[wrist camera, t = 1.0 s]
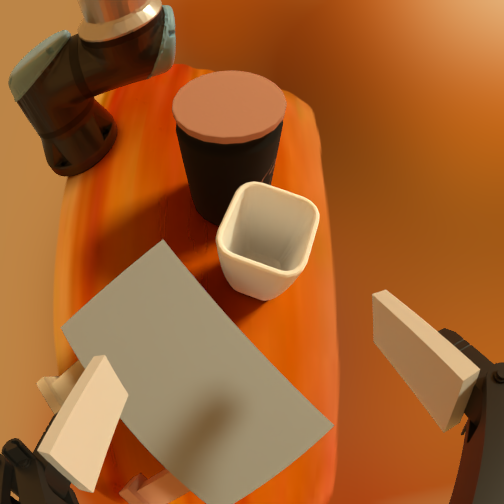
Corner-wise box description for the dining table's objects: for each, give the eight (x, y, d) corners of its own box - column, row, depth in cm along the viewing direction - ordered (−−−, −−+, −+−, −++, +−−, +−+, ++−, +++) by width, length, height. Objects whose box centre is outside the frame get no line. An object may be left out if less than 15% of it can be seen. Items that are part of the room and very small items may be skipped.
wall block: (121, 339, 32) (60, 327, 18) (189, 281, 35) (163, 239, 22) (224, 457, 27) (218, 512, 14) (296, 398, 30) (334, 425, 17)
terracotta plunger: (132, 477, 21) (118, 493, 16) (211, 424, 24) (207, 437, 20) (161, 504, 20) (151, 522, 15) (242, 453, 23) (243, 470, 19)
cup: (240, 241, 37) (242, 175, 23) (292, 260, 37) (324, 203, 23) (219, 291, 35) (208, 249, 21) (274, 312, 34) (300, 283, 20)
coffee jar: (267, 233, 38) (289, 142, 21) (188, 229, 37) (158, 137, 21) (268, 170, 42) (284, 73, 25) (199, 166, 41) (184, 70, 24)
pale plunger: (58, 381, 24) (36, 383, 19) (126, 322, 27) (109, 316, 23) (79, 414, 23) (58, 420, 18) (151, 356, 26) (137, 356, 22)
